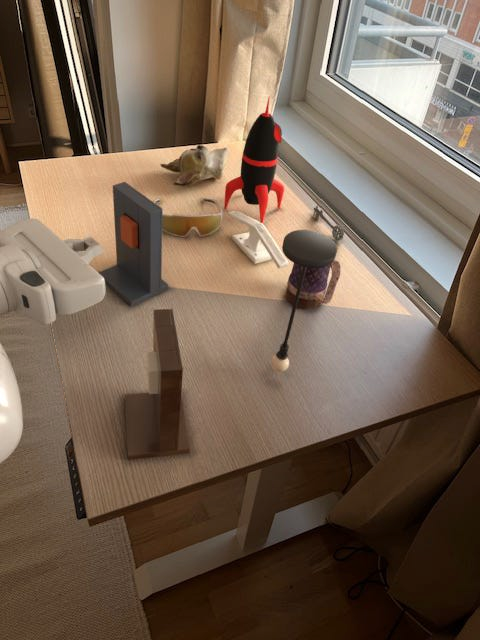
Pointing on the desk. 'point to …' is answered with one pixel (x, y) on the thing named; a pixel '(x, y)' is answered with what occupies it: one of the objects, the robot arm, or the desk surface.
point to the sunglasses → (191, 222)
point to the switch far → (129, 231)
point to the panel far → (136, 248)
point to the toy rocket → (259, 165)
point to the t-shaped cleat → (257, 241)
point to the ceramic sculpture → (198, 165)
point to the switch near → (152, 372)
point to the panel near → (159, 399)
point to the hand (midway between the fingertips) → (97, 244)
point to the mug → (313, 285)
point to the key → (334, 232)
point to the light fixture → (303, 273)
